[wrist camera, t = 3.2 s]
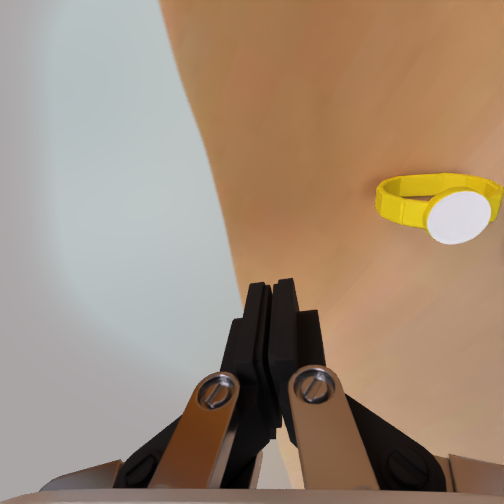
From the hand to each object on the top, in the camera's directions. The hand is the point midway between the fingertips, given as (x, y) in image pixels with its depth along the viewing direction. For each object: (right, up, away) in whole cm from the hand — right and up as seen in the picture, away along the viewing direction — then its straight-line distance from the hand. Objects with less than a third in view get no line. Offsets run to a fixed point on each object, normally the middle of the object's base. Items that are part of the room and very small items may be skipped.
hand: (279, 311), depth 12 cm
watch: (+10, +7, +8) cm, 14 cm away
